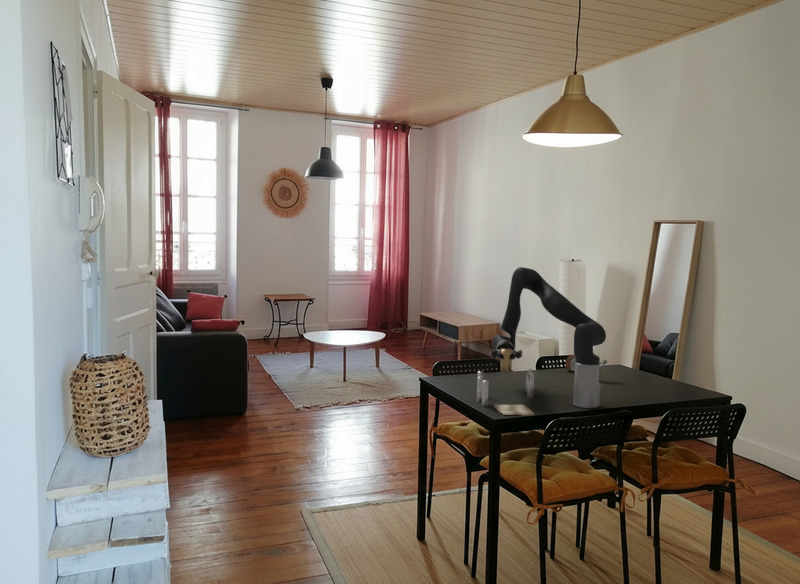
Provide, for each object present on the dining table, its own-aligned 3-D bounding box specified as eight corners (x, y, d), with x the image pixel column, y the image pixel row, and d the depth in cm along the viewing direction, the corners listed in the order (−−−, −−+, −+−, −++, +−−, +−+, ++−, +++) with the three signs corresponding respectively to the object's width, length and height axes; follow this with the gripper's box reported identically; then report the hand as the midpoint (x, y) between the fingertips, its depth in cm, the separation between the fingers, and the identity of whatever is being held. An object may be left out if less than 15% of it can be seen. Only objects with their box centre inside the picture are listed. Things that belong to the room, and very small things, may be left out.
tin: (584, 369, 317) (585, 353, 316) (589, 370, 314) (590, 354, 314) (564, 371, 309) (565, 355, 308) (569, 372, 306) (569, 356, 306)
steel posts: (530, 391, 265) (531, 368, 264) (550, 406, 242) (551, 381, 241) (467, 391, 261) (468, 368, 260) (481, 406, 238) (482, 381, 237)
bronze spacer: (509, 370, 249) (510, 348, 249) (512, 372, 245) (513, 350, 244) (499, 370, 249) (499, 348, 248) (502, 372, 244) (503, 350, 244)
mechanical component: (605, 381, 290) (607, 360, 289) (583, 379, 292) (584, 358, 291) (605, 379, 292) (606, 359, 292) (582, 378, 294) (584, 357, 294)
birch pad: (523, 406, 240) (523, 404, 239) (534, 415, 228) (534, 413, 228) (494, 406, 238) (494, 404, 238) (503, 415, 226) (503, 413, 226)
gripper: (488, 340, 261) (489, 346, 244) (522, 341, 259) (525, 348, 242) (488, 357, 262) (488, 365, 245) (521, 359, 260) (524, 366, 243)
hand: (506, 356), depth 244 cm, fingers closed on bronze spacer, 4 cm apart
